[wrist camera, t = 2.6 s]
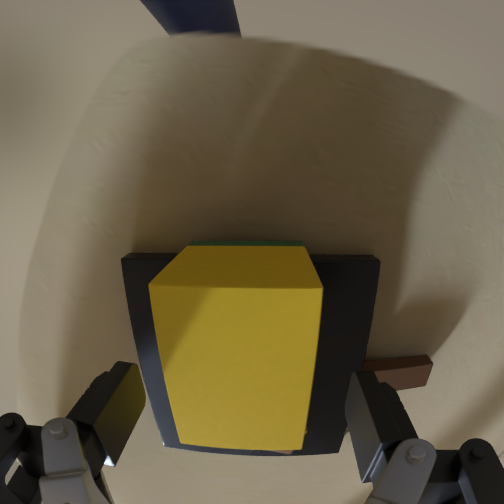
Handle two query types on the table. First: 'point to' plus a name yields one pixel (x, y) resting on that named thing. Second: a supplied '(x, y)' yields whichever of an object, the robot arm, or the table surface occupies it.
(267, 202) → the table surface
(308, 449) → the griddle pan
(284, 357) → the sponge
